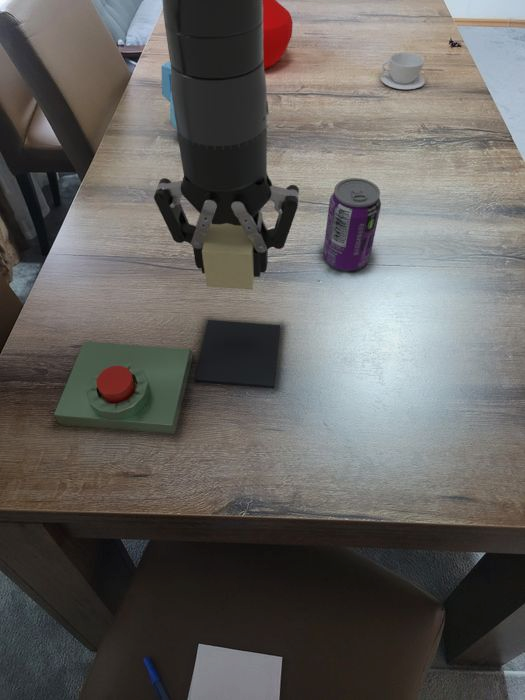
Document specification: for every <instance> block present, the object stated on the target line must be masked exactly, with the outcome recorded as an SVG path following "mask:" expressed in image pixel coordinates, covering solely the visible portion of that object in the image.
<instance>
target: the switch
mask: <svg viewBox="0 0 525 700" xmlns="http://www.w3.org/2000/svg"><path fill="white" fill-rule="evenodd" d="M96 383H97V388H98V390H99V392H100V394H101V396H102V397H103V398H104V399H105V400H107V401H109V402H121V401H123V400H125V399H127V398H128V397H130V396H131V394H132V393H133V391H134V389H135V382H134V379H133V377H132V374H131V372H130V371H129V370H128V369H127V368H125V367H123V366H111V367H109V368H106V369H105V370H103V371H102V372H101V373H100V374H99V376H98V378H97V382H96Z"/></svg>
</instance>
